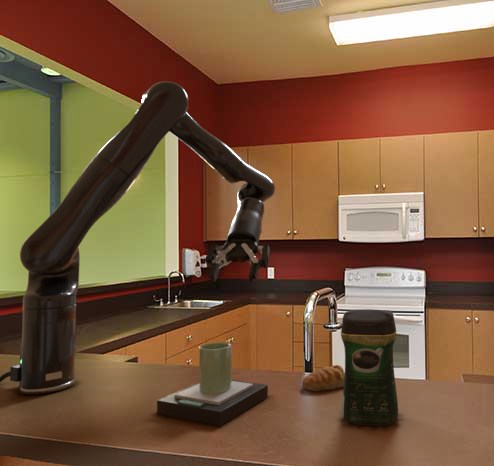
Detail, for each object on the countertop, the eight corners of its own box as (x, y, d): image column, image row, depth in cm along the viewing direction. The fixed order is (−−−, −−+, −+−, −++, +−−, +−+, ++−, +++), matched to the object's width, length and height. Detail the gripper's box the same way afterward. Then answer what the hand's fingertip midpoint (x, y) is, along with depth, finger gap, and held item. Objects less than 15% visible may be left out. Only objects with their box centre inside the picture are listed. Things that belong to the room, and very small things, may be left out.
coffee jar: (399, 410, 72) (398, 306, 73) (396, 430, 65) (395, 313, 65) (346, 407, 74) (345, 305, 75) (337, 425, 66) (336, 312, 67)
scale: (156, 414, 71) (156, 396, 72) (211, 388, 84) (211, 374, 85) (220, 426, 66) (220, 407, 66) (267, 397, 79) (267, 381, 79)
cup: (192, 392, 74) (192, 348, 74) (213, 382, 79) (214, 341, 80) (217, 396, 72) (217, 350, 72) (238, 385, 77) (238, 343, 77)
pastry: (313, 395, 80) (312, 376, 80) (295, 387, 85) (295, 368, 85) (349, 385, 86) (349, 367, 86) (331, 378, 91) (331, 361, 91)
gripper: (214, 219, 99) (195, 268, 87) (271, 219, 99) (261, 267, 87) (220, 241, 104) (204, 290, 92) (275, 241, 104) (266, 289, 92)
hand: (232, 279), depth 90 cm, fingers open, 8 cm apart
